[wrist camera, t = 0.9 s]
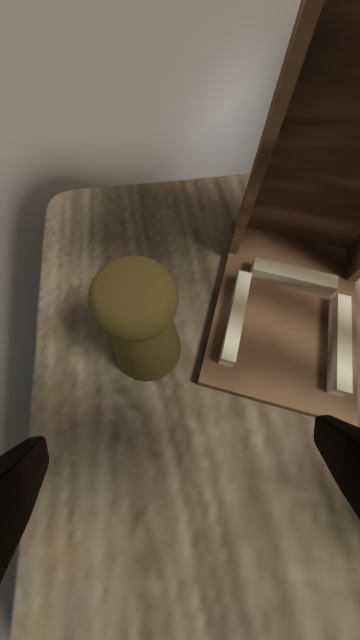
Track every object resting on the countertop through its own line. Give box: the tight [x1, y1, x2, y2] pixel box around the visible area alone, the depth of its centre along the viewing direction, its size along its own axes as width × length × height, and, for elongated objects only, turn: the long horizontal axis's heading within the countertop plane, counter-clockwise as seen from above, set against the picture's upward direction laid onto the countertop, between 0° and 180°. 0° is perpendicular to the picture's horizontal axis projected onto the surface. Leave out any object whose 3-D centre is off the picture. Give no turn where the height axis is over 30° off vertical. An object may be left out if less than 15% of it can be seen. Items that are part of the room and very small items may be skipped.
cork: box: [89, 255, 181, 382], centre depth 19 cm, size 6×6×11 cm
